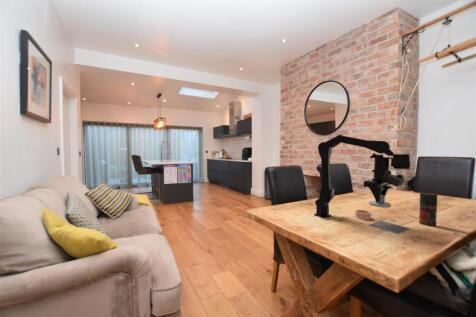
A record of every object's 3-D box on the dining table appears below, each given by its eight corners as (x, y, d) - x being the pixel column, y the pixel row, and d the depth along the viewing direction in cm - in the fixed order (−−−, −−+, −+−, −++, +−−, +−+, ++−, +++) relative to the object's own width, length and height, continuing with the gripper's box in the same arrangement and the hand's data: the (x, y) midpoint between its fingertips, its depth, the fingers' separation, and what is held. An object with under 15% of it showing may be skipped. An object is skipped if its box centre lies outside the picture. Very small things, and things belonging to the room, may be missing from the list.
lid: (385, 208, 94) (385, 198, 94) (365, 204, 101) (365, 194, 101) (394, 206, 98) (394, 196, 98) (374, 201, 106) (375, 192, 105)
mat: (397, 235, 88) (397, 234, 88) (367, 226, 98) (367, 225, 98) (410, 229, 94) (410, 228, 94) (380, 222, 105) (380, 220, 105)
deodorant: (419, 222, 104) (419, 192, 103) (435, 225, 100) (436, 193, 99) (419, 226, 99) (420, 194, 98) (436, 229, 95) (437, 195, 95)
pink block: (365, 222, 104) (366, 214, 104) (352, 218, 110) (353, 211, 110) (372, 219, 108) (373, 212, 108) (359, 216, 113) (360, 209, 113)
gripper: (390, 170, 87) (389, 208, 88) (411, 168, 97) (409, 202, 98) (363, 168, 97) (361, 202, 98) (384, 166, 106) (382, 197, 107)
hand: (379, 201), depth 100 cm, fingers closed on lid, 3 cm apart
